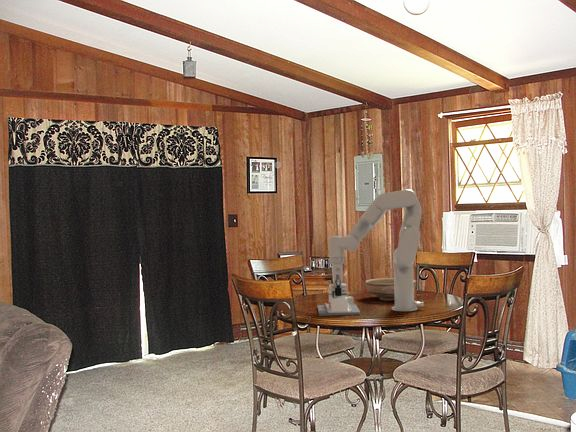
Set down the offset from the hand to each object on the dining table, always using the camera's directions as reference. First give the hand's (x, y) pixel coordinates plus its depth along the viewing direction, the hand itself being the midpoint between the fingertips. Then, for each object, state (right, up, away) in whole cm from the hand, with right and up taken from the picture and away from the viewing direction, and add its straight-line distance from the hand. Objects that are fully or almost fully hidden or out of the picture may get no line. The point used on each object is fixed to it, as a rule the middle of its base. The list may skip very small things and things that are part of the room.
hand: (337, 294), depth 322 cm
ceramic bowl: (+33, -7, +38) cm, 50 cm away
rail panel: (0, -8, 0) cm, 8 cm away
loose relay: (+8, -8, +21) cm, 24 cm away
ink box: (0, -7, 0) cm, 7 cm away
